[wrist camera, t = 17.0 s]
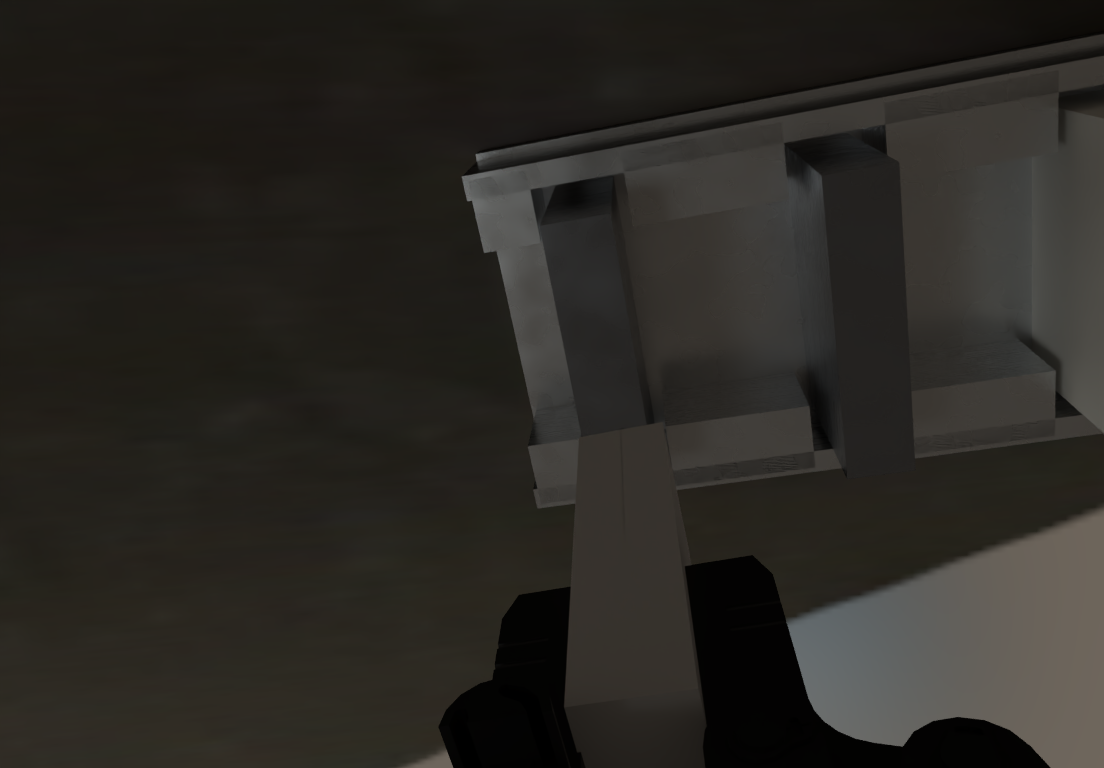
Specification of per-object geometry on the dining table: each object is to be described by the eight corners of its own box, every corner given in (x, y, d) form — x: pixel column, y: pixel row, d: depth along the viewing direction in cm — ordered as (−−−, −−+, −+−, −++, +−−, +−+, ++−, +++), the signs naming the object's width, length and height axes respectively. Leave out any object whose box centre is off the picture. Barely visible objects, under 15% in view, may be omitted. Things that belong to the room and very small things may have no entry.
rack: (547, 465, 46) (530, 562, 38) (478, 151, 41) (441, 187, 32) (1164, 379, 42) (1292, 467, 34) (1185, 16, 36) (1345, 18, 28)
